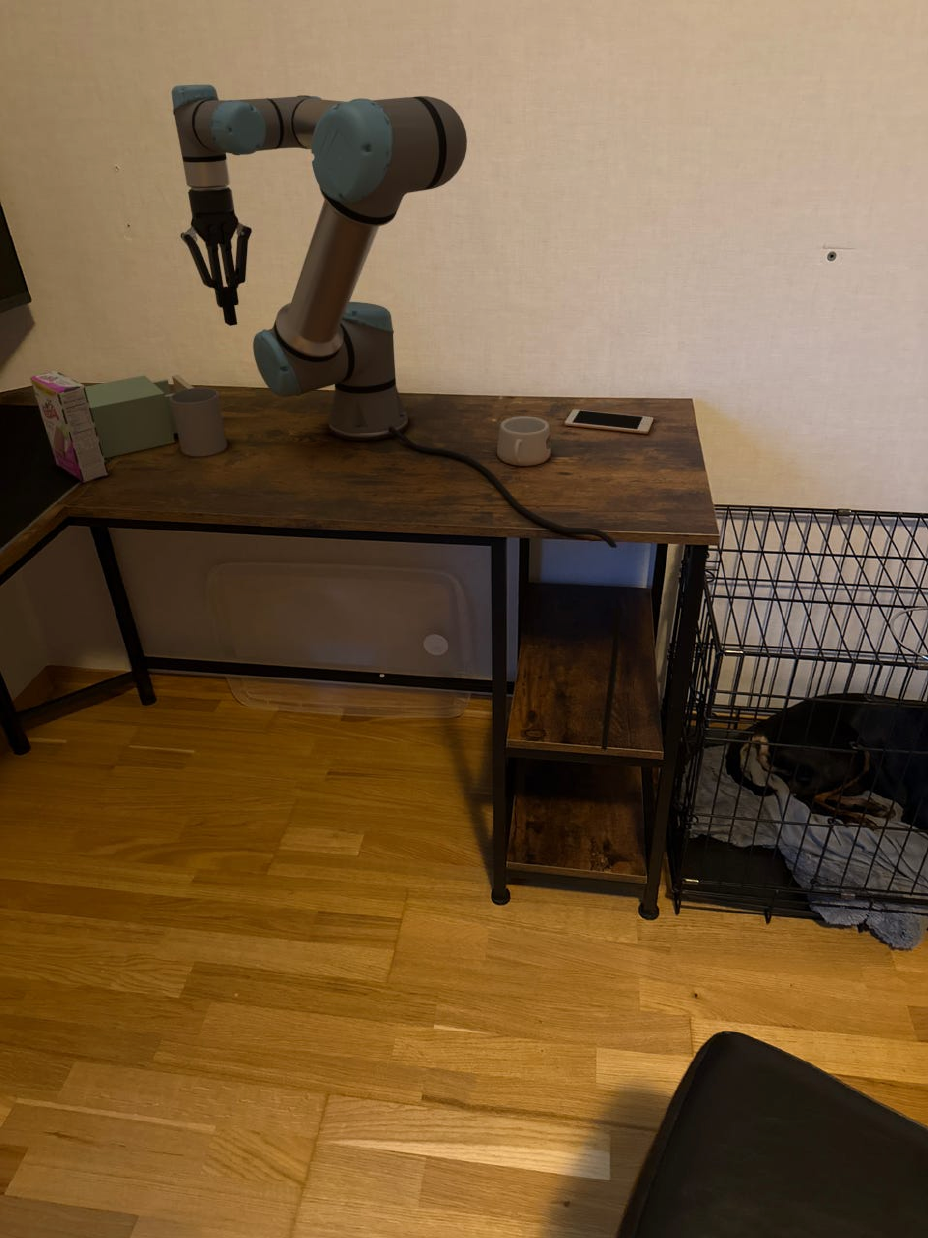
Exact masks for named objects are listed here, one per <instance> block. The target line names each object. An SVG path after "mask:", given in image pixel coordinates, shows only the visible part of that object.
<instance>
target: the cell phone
mask: <svg viewBox="0 0 928 1238" xmlns="http://www.w3.org/2000/svg"><path fill="white" fill-rule="evenodd" d="M653 422H654V417H653V416H647V415H646V416H645V415H637V414H636V415H635V414H626V413H617V412H616V413H615V412H605V411H597V410H587V409H585V410H584V409H574V408H573V409H572V411H570V413H569V415H568V417H567V418H566V420H564V426H568V427H578V428H588V429H595V430H596V429H597V430H604V431H605V430H607V431H615V432H626V433H634V434H644V435H647V434H649V432H650V429H651V427H652V426H653V425H652V424H653Z"/></svg>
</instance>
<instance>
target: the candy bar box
mask: <svg viewBox="0 0 928 1238" xmlns="http://www.w3.org/2000/svg"><path fill="white" fill-rule="evenodd" d="M29 380H30V383H31V386H32V390H33V392H34V396H35V399H36V402H37V405H38V409H39V413H40V416H41V419H42V421H43V424H44V428H45V430H46V434H47V438H48V441H49V444H50V448H51V450H52V454H53V458H54V460H55V464H56V466H57V467H59V468H61V469H62V470H64V471H65V472H66V473H68V474H70V475H71V476H73V477H74V478H76V479H77V480H79V481H80V482H82V483H83V484H85V483H89V482H92V481H95V480H97V479H101V478H104V477H107V476H109V472H108V468H107V464H106V459H105V458H104V456H103V453H102V449H101V445H100V442H99V438H98V434H97V431H96V427H95V423H94V419H93V416H92V412H91V408H90V405H89V401H88V398H87V394H86V390H85V387H86V385H84V384H82V383H80V382H78V381H77V380H75V379H73V378H71V377H68V376H67V375H65V374H63V373H61V372H60V371H57V370H53V371H50V372H44V373H40V374H35V375H33V376H30V377H29Z"/></svg>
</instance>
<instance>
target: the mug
mask: <svg viewBox="0 0 928 1238" xmlns="http://www.w3.org/2000/svg"><path fill="white" fill-rule="evenodd" d="M550 431H551V430H550V424H549V422H547V421H546V420H545V419H542V418H540V417H535V416H530V415H528V416H527V415H523V416H513V417H509V418H507V419H504V420H502V422H500V424H499V431H498V440H497V447H496V454H497V456H498V458H499V459H500V460H501V461H502V462H503V463H506V464H509V465H513V466H520V467H528V466H535V465H540V464H543V463H544V462H546V461H547V460H548V459H550V457H551V453H552V444H551V432H550Z"/></svg>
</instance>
